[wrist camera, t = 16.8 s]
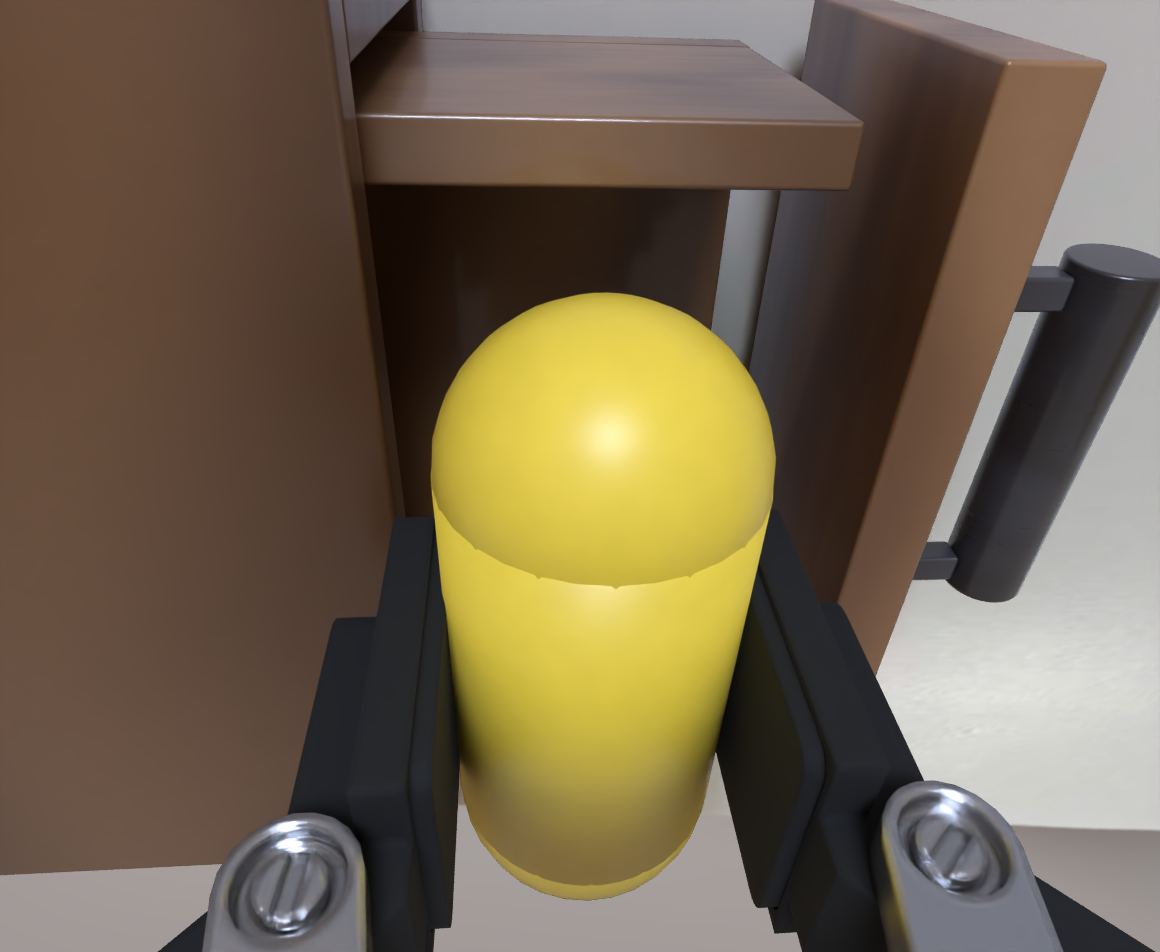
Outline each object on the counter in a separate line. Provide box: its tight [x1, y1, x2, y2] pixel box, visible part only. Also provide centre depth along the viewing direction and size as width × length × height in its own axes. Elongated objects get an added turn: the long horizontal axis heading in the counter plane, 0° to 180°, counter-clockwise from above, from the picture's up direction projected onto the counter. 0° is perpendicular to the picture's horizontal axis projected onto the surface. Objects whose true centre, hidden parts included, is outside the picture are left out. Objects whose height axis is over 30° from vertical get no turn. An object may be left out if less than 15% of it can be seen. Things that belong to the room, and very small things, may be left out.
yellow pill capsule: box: [431, 293, 776, 900], centre depth 10 cm, size 9×4×4 cm
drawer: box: [350, 0, 1160, 676], centre depth 15 cm, size 20×13×7 cm
